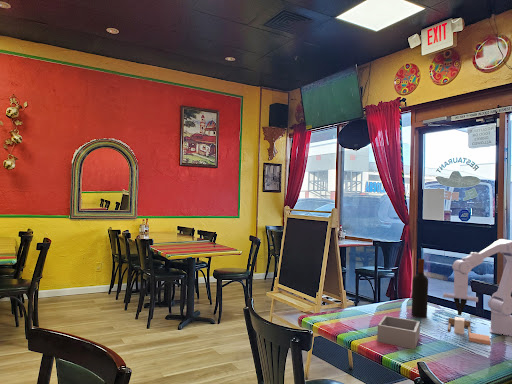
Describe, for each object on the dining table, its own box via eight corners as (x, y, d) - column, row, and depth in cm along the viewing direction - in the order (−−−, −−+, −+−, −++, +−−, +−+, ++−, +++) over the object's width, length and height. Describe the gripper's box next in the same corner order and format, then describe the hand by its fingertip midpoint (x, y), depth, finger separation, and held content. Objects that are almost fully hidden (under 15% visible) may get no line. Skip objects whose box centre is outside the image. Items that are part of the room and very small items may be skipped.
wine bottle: (412, 316, 207) (414, 259, 208) (410, 312, 215) (413, 257, 215) (427, 318, 205) (430, 260, 206) (426, 314, 212) (428, 258, 213)
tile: (489, 339, 177) (489, 335, 177) (490, 344, 170) (490, 341, 170) (468, 335, 181) (468, 332, 181) (469, 340, 174) (469, 337, 174)
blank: (463, 330, 188) (464, 318, 188) (463, 334, 182) (464, 321, 183) (454, 329, 190) (454, 316, 190) (454, 332, 184) (454, 319, 184)
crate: (419, 337, 175) (419, 321, 175) (415, 349, 160) (415, 331, 160) (384, 330, 182) (384, 315, 182) (377, 341, 167) (377, 324, 167)
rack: (470, 327, 194) (470, 321, 194) (470, 335, 181) (471, 328, 181) (448, 323, 198) (448, 317, 198) (447, 331, 186) (447, 324, 186)
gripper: (477, 286, 187) (476, 315, 187) (443, 282, 193) (442, 310, 193) (478, 289, 181) (477, 319, 180) (443, 284, 187) (442, 313, 186)
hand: (459, 314), depth 186 cm, fingers closed
